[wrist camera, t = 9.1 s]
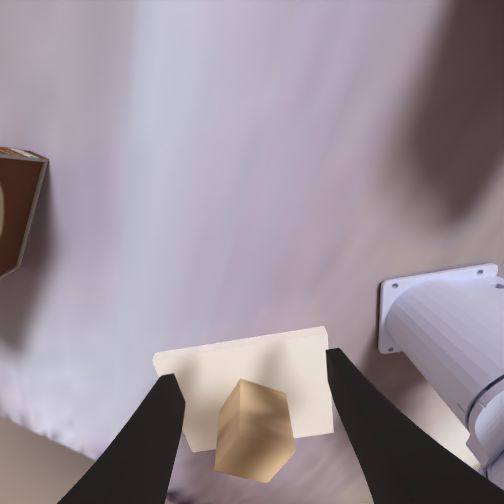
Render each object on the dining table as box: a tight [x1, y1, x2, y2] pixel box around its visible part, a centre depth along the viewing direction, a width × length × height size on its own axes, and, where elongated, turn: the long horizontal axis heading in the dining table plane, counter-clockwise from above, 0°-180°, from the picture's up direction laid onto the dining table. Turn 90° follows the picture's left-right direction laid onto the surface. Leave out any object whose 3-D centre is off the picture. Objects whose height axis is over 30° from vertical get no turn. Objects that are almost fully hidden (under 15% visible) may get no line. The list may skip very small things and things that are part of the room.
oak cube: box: [214, 378, 296, 483], centre depth 22 cm, size 5×5×5 cm
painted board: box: [152, 326, 334, 453], centre depth 24 cm, size 16×14×1 cm
